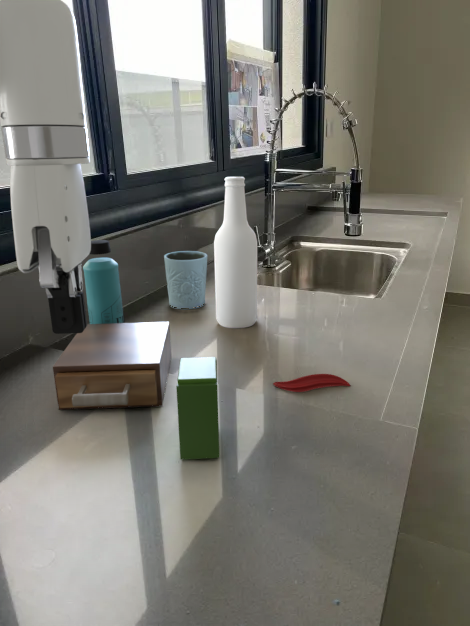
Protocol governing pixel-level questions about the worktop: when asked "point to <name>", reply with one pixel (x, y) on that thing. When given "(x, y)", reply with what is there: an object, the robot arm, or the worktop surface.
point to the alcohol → (235, 261)
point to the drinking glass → (186, 278)
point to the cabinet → (119, 352)
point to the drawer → (107, 388)
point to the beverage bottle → (103, 286)
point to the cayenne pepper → (311, 382)
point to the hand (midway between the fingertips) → (70, 330)
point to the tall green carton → (198, 408)
